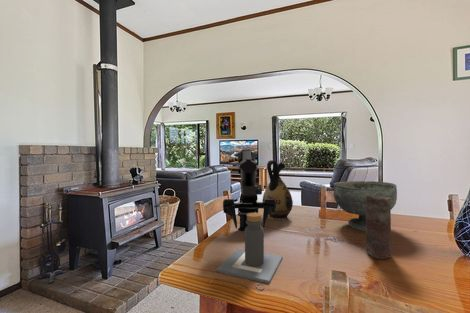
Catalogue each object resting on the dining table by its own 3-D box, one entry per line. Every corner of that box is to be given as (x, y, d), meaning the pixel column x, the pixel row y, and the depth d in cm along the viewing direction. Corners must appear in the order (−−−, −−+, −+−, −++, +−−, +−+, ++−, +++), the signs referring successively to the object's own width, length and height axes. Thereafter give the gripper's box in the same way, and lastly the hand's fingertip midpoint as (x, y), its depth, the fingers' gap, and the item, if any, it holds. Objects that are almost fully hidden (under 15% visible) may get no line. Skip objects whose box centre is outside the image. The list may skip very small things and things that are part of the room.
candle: (360, 250, 85) (361, 193, 84) (380, 249, 86) (381, 193, 85) (375, 260, 77) (376, 198, 77) (396, 259, 78) (397, 197, 77)
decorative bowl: (408, 239, 93) (406, 187, 93) (336, 233, 101) (335, 186, 102) (388, 222, 118) (387, 181, 118) (332, 218, 126) (331, 180, 127)
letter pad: (216, 271, 71) (216, 268, 71) (237, 250, 86) (237, 248, 86) (269, 283, 65) (269, 280, 65) (282, 258, 79) (282, 255, 79)
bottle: (267, 262, 75) (267, 214, 75) (254, 268, 71) (254, 218, 71) (254, 256, 79) (253, 210, 79) (241, 261, 76) (240, 214, 75)
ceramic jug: (274, 212, 136) (274, 159, 135) (298, 217, 125) (298, 159, 124) (254, 218, 125) (253, 160, 124) (278, 225, 113) (278, 161, 112)
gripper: (222, 176, 86) (221, 216, 76) (275, 176, 86) (280, 216, 75) (224, 194, 94) (222, 232, 84) (272, 194, 94) (276, 232, 84)
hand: (250, 228), depth 82 cm, fingers open, 9 cm apart
